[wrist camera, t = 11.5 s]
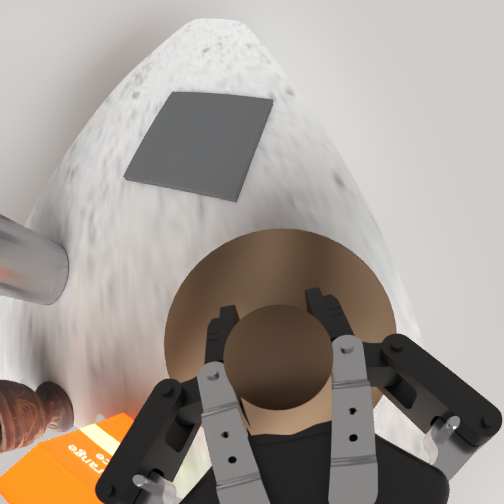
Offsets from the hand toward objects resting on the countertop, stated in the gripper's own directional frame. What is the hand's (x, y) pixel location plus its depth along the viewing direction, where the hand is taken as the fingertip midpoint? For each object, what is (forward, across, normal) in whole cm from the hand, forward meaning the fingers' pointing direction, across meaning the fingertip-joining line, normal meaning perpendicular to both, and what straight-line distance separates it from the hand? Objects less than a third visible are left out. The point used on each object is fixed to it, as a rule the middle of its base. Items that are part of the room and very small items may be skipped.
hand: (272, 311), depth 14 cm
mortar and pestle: (+5, +34, +16) cm, 38 cm away
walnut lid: (+1, 0, +4) cm, 4 cm away
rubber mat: (+28, +5, -7) cm, 29 cm away
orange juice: (+1, +18, +20) cm, 27 cm away
